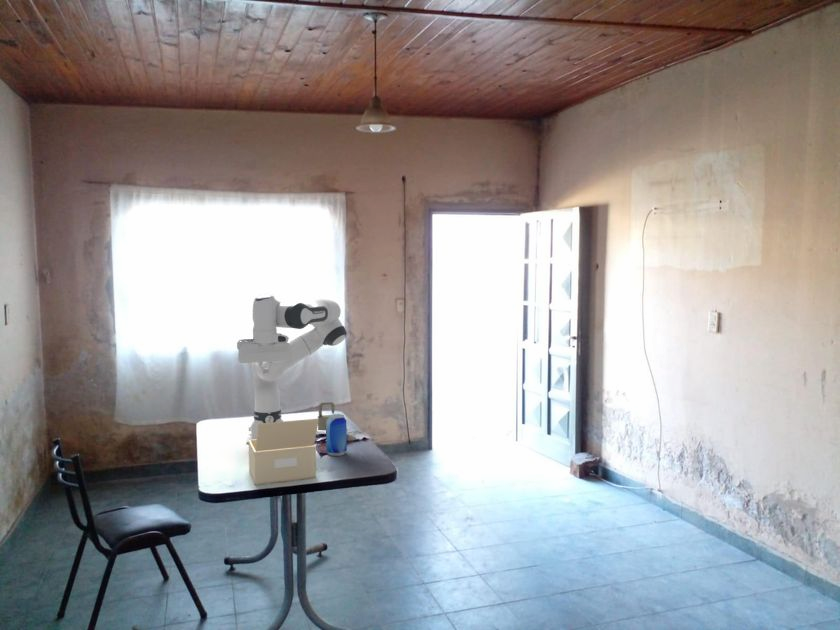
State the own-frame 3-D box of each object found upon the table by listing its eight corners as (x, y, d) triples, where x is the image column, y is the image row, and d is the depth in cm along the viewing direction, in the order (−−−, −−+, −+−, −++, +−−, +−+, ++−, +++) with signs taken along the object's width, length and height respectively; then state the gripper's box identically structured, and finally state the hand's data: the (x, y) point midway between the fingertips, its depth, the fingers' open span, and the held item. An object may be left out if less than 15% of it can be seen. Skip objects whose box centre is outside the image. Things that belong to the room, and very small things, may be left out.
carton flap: (258, 423, 229) (258, 424, 229) (318, 418, 237) (318, 419, 236) (255, 449, 238) (255, 450, 237) (313, 443, 245) (314, 445, 245)
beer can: (332, 457, 272) (332, 419, 271) (322, 453, 279) (322, 415, 278) (350, 454, 277) (350, 416, 276) (340, 449, 284) (340, 412, 283)
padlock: (336, 433, 311) (335, 402, 310) (318, 434, 309) (318, 403, 308) (335, 431, 315) (334, 400, 314) (317, 432, 313) (317, 401, 312)
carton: (249, 470, 255) (248, 440, 254) (306, 464, 262) (305, 434, 262) (255, 485, 238) (254, 452, 237) (316, 478, 246) (315, 446, 245)
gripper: (237, 339, 248) (238, 376, 249) (292, 337, 255) (293, 373, 256) (236, 337, 254) (236, 373, 254) (289, 335, 261) (290, 370, 262)
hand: (265, 373), depth 255 cm, fingers closed
